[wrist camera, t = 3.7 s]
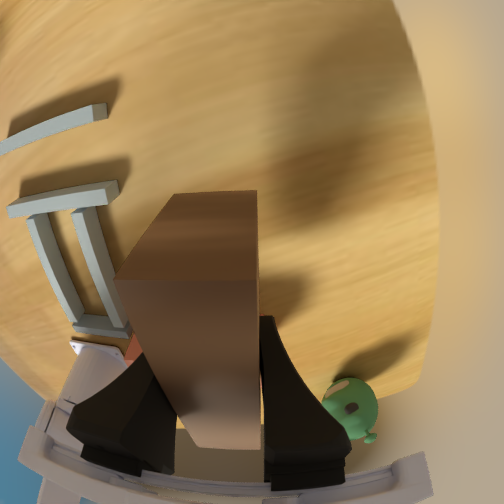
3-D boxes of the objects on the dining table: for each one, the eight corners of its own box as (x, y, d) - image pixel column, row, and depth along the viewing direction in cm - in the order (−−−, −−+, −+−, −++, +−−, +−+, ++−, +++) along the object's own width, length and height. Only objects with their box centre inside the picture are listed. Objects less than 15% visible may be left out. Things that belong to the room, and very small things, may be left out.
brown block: (260, 367, 17) (260, 449, 12) (208, 367, 18) (197, 446, 12) (256, 190, 11) (256, 280, 6) (173, 194, 11) (112, 279, 6)
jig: (157, 326, 26) (152, 341, 25) (67, 317, 27) (59, 329, 25) (106, 102, 15) (91, 104, 14) (6, 140, 16) (-8, 146, 14)
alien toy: (345, 358, 29) (363, 435, 20) (378, 375, 31) (396, 439, 23) (302, 385, 32) (309, 456, 23) (338, 398, 34) (349, 459, 25)
